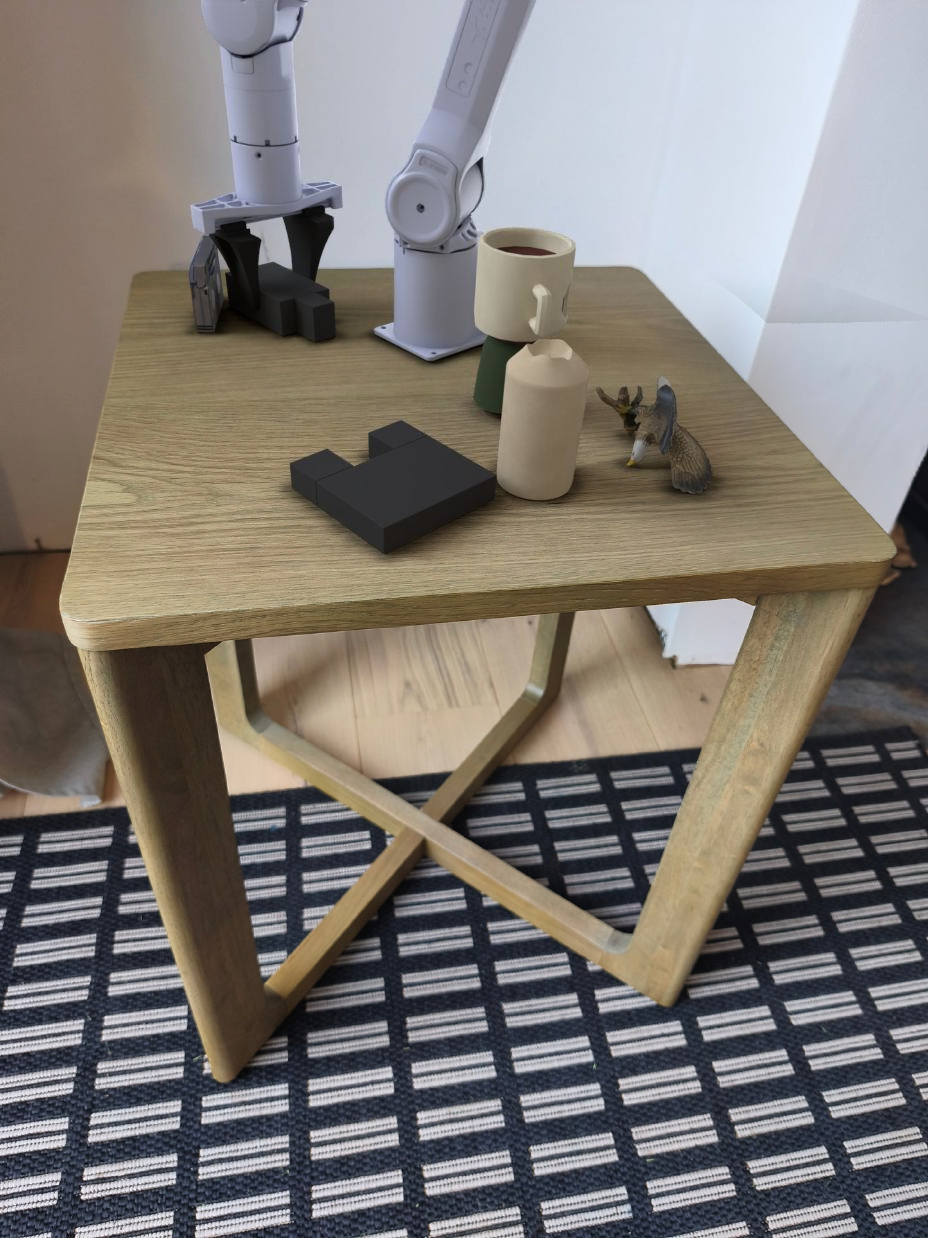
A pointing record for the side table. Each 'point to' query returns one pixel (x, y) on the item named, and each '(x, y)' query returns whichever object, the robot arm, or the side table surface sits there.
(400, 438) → the base pad
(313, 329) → the black t-shaped block
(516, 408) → the beige bottle vase
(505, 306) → the character mug
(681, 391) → the side table surface
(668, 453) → the eagle figurine
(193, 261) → the mini dv tape
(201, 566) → the side table surface
